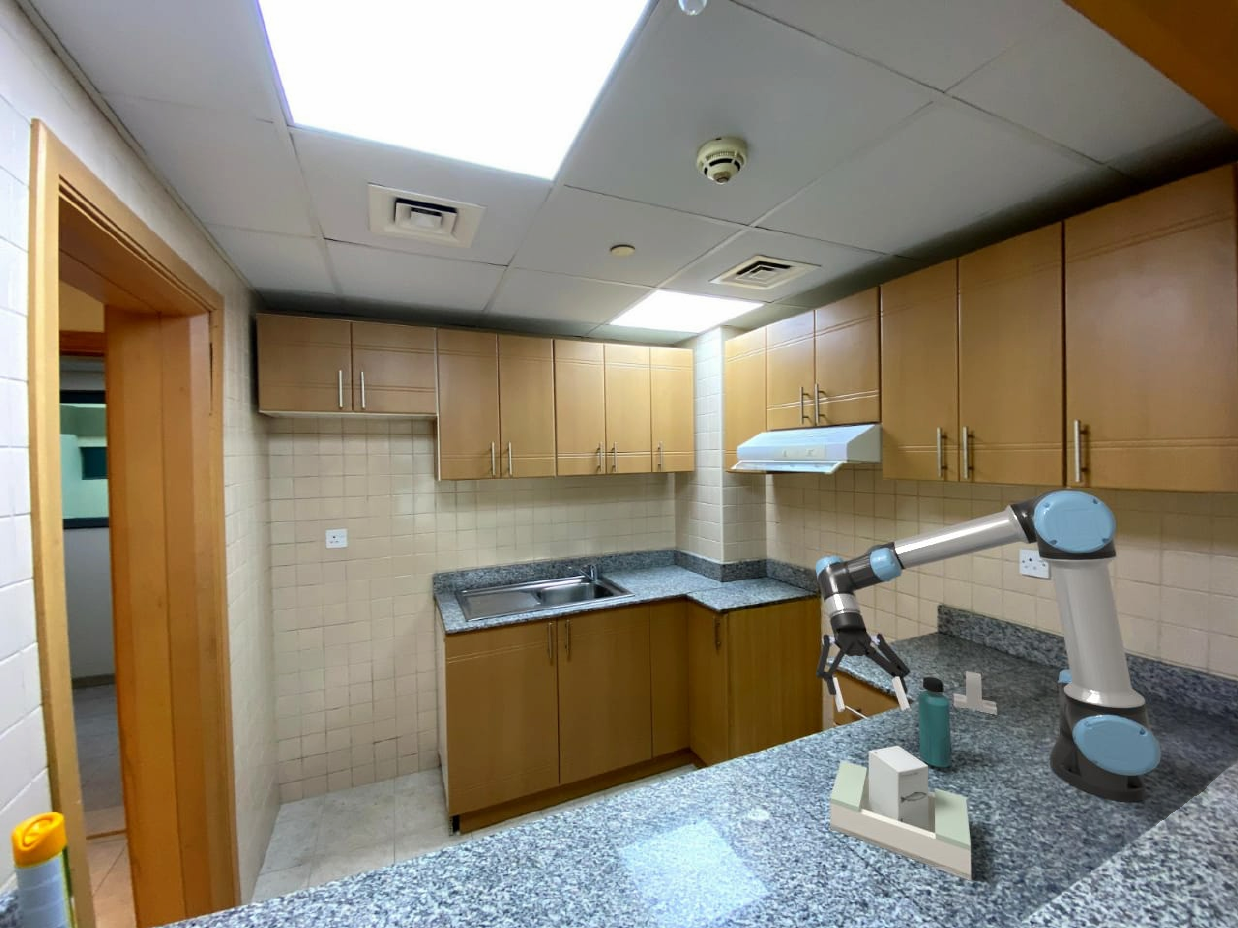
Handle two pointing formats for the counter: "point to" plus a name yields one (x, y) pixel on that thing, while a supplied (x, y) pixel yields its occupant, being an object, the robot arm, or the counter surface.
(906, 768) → the supplement box
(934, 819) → the cream green tray
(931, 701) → the beverage bottle
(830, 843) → the counter surface
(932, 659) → the counter surface
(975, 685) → the cable organizer
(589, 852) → the counter surface
